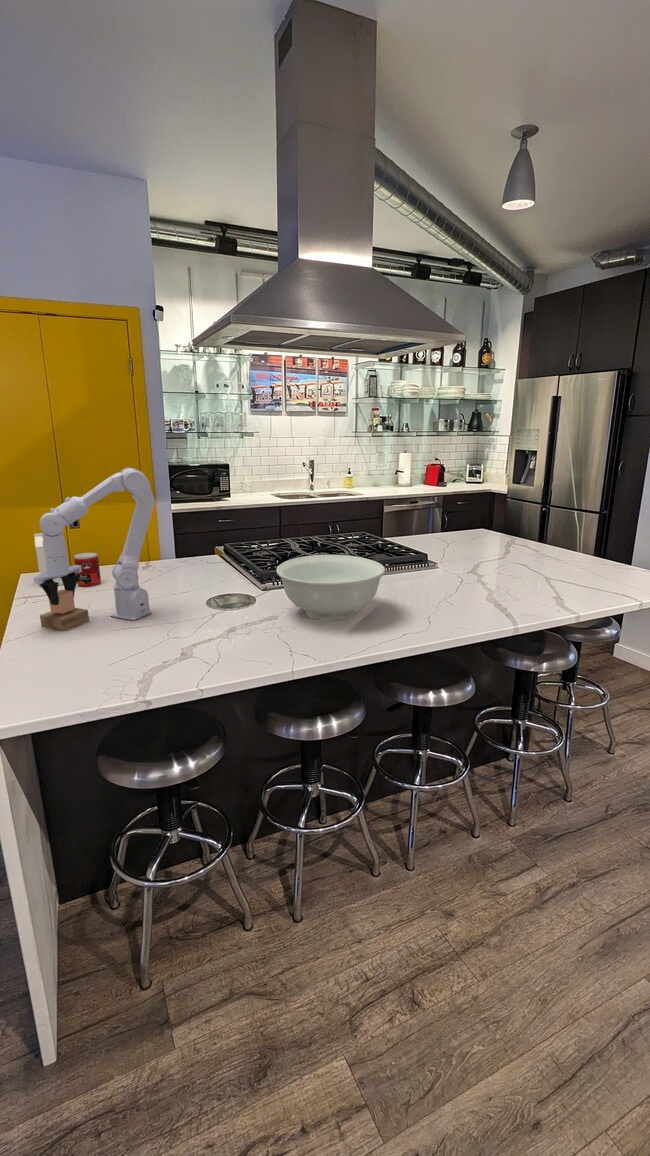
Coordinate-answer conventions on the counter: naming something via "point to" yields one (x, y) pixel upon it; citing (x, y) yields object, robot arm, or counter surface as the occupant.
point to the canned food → (88, 569)
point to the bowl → (330, 584)
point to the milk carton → (42, 556)
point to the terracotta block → (63, 602)
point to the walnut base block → (64, 619)
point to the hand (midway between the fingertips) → (62, 601)
